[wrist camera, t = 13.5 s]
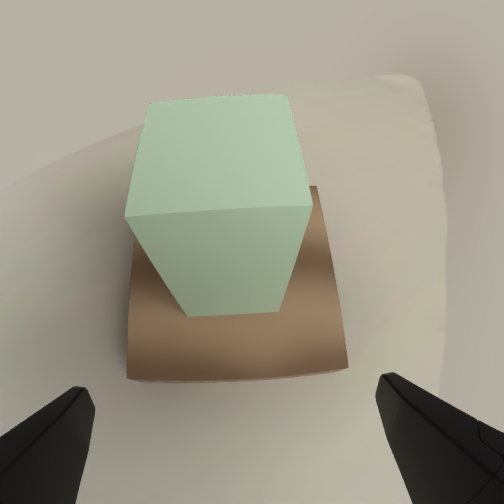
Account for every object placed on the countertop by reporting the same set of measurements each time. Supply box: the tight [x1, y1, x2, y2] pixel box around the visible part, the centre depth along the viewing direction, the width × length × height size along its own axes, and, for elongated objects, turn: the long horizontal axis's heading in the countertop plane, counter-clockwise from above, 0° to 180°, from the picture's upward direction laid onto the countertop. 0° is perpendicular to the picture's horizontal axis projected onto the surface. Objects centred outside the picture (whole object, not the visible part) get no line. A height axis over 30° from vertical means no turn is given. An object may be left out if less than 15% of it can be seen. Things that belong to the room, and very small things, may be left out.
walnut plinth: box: [127, 186, 348, 383], centre depth 19 cm, size 12×12×2 cm
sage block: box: [124, 94, 313, 317], centre depth 14 cm, size 5×5×10 cm
